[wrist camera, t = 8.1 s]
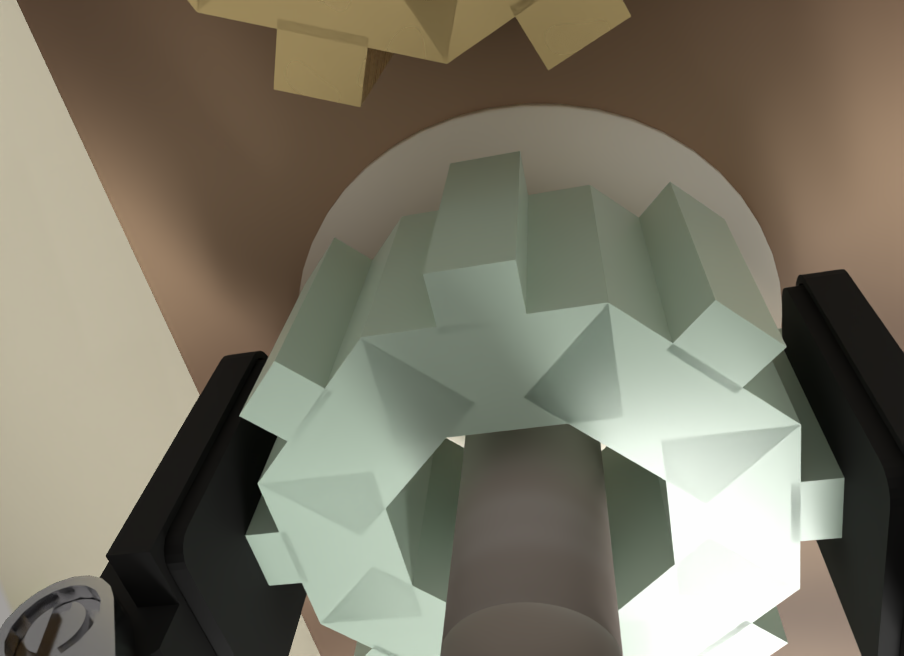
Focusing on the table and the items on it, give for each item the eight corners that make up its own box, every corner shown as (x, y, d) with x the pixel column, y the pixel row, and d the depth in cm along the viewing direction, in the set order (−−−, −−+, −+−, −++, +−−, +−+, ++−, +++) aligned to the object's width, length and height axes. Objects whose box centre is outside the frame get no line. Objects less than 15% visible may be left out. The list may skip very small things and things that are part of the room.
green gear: (785, 536, 13) (847, 706, 11) (365, 572, 14) (329, 731, 12) (784, 103, 9) (875, 204, 7) (222, 203, 11) (127, 319, 8)
